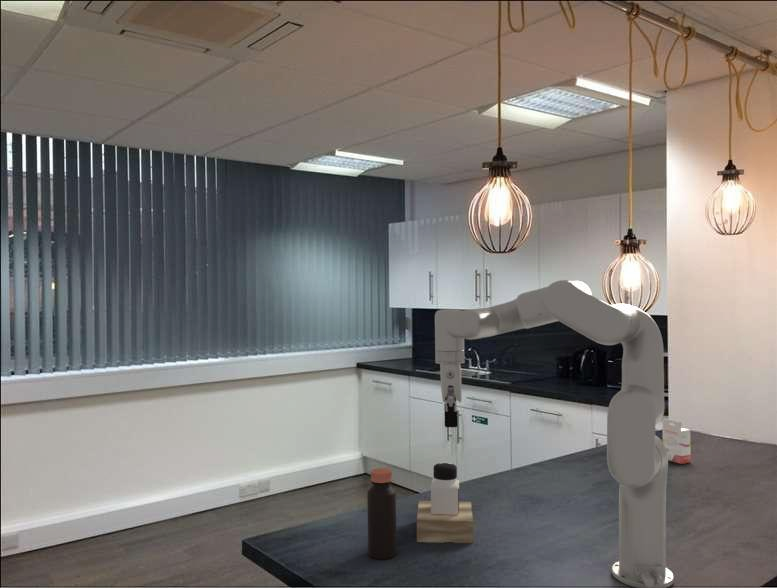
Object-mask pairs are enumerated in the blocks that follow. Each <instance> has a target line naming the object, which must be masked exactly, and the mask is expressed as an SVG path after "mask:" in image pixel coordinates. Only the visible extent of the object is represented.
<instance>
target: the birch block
mask: <svg viewBox="0 0 777 588" xmlns="http://www.w3.org/2000/svg"><path fill="white" fill-rule="evenodd" d="M416 542H417V543H444V542H454V543H453V544H474V517H473V510H472V502H471V501H459V515H440V514H431V500H418V505H417V515H416Z"/></svg>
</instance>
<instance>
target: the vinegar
mask: <svg viewBox="0 0 777 588" xmlns="http://www.w3.org/2000/svg"><path fill="white" fill-rule="evenodd" d="M392 479H393V478H392V470H391V469H390V468H381V467H379V468H374V469H371V471H370V481H371V484H372V486H371V487H370V488H369V489H368V490H367V493H366V494H367V496H366V497H367V498H366V499H367V500H366V501H367V554H368V556H370V557H371V558H372V559H375V560H388V559H391V558H394V556H396V554H397V513H396V512H397V496H396V495H397V494H396V493H397V492H396V489H394V488H393V487H392V485H391V484H392Z"/></svg>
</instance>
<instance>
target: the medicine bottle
mask: <svg viewBox="0 0 777 588" xmlns="http://www.w3.org/2000/svg"><path fill="white" fill-rule="evenodd" d="M457 468H458V467H457V465H456V464H454V463H451V462H439V463H435V464H434V465H433V478H432V479H431V485H430V501H431V514H440V515H459V502H460V480H459V479H458V476H457V474H458V469H457Z"/></svg>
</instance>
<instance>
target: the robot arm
mask: <svg viewBox="0 0 777 588" xmlns="http://www.w3.org/2000/svg"><path fill="white" fill-rule="evenodd" d="M555 322H560V323H561V324H563V325H565V326H567V327H569V328H571V329H572V330H574V331H575V332H578V333H579V334H581V335H583V336H585V338H588V339H589V340H591V341H593V342H595V343H597V344H600V345H603V346H615V345H618V344H621V345H622V349H623V351H622V352H623V353H622V360H621V387H620V388H621V389H620V390H619V391H618V392H617V393H616V394H615V395H613V397H612V398H611V400H610V402H609V405H608V408H607V409H608V410H607V414H606V415H607V416H606V418H607V419H606V423H607V424H606V462H607V466H608V470H609V473H610V474H611V476H612V478H613V479H614V480H615V481H616V482H617V483H618V484H619V492H618V498H619V499H618V545H619V547H618V548H619V549H618V559H619V560H618V561H617V562H615V563H614V564H612V566H611V574H612V576H613V577H614V578H615V579H617V581H619V582H620V583H622V584H624V585H627V586H630V587H633V588H669V587H671V586H672V585H673V584H674V581H675V580H674V579H675V578H674V577H675V576H674V574H673V572H672V571H671V570H670V569H668V567H667V551H666V550H667V542H666V541H667V537H666V536H667V535H666V532H667V527H666V526H667V525H666V524H667V514H666V513H667V481H668V469H669V468H668V467H669V460H668V454H667V450H666V447H665V445H664V443H663V440H662V439H661V438H660V437H659V436H657V435H656V425H657V424H658V423H659V422H660V421H661V420H662V419H663V416H664V414H665V369H664V359H665V358H664V357H665V356H664V355H665V354H664V342H663V337H662V333H661V330H660V329H659V326H658V324H657V323H656V321H655V320H654V319H653V318H652V316H651V315H649V314H648V313H647V312H645V311H643V310H642V309H641V308H639V307H637V306H633V305H631V304H627V303H613V304H609V303H607V302H605V301H603V300H601V299H599V298H597V297H595V296H593V294H592V291H591V289H590V287H589V286H588V285H587V284H586V283H584V282H583V281H580V280H577V279H564V280H563V279H562V280H557V281H554V282H552V283H550V284H549V285H548V286H546V287H545V286H544V287H541V288H537V289H533V290H530V291H526V292H523V293H520V294H519V295H517V296H516V298H515V299H513V300H510V301H508V302H504V303H500V304H497V305H493V306H489V307H483V308H481V307H479V308H471V309H464V310H460V309H457V308H456V309H454V308H453V309H451V308H450V309H439V310H437V311H436V312H435V314H434V344H435V345H434V349H435V351H434V352H435V353H434V354H435V355H434V356H435V364H438V365H440V367H439V370H440V371H439V373H440V374H439V375H440V390H441V392H440V393H441V397H442V402H444V404H443V405H444V406H443V407H444V408H443V409H444V428H458V423H459V422H458V411H457V410H458V409H457V402H459V403H461V402H463V401H462V399H463V398H462V396H463V395H462V392H463V391H462V366H461V364H465V340H477V339H483V338H490V337H493V336H497V335H502V334H505V333H509V332H510V333H511V332H514V331H518V330H523V329H531V328H535V327H540V326H544V325H547V324H552V323H555Z"/></svg>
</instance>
